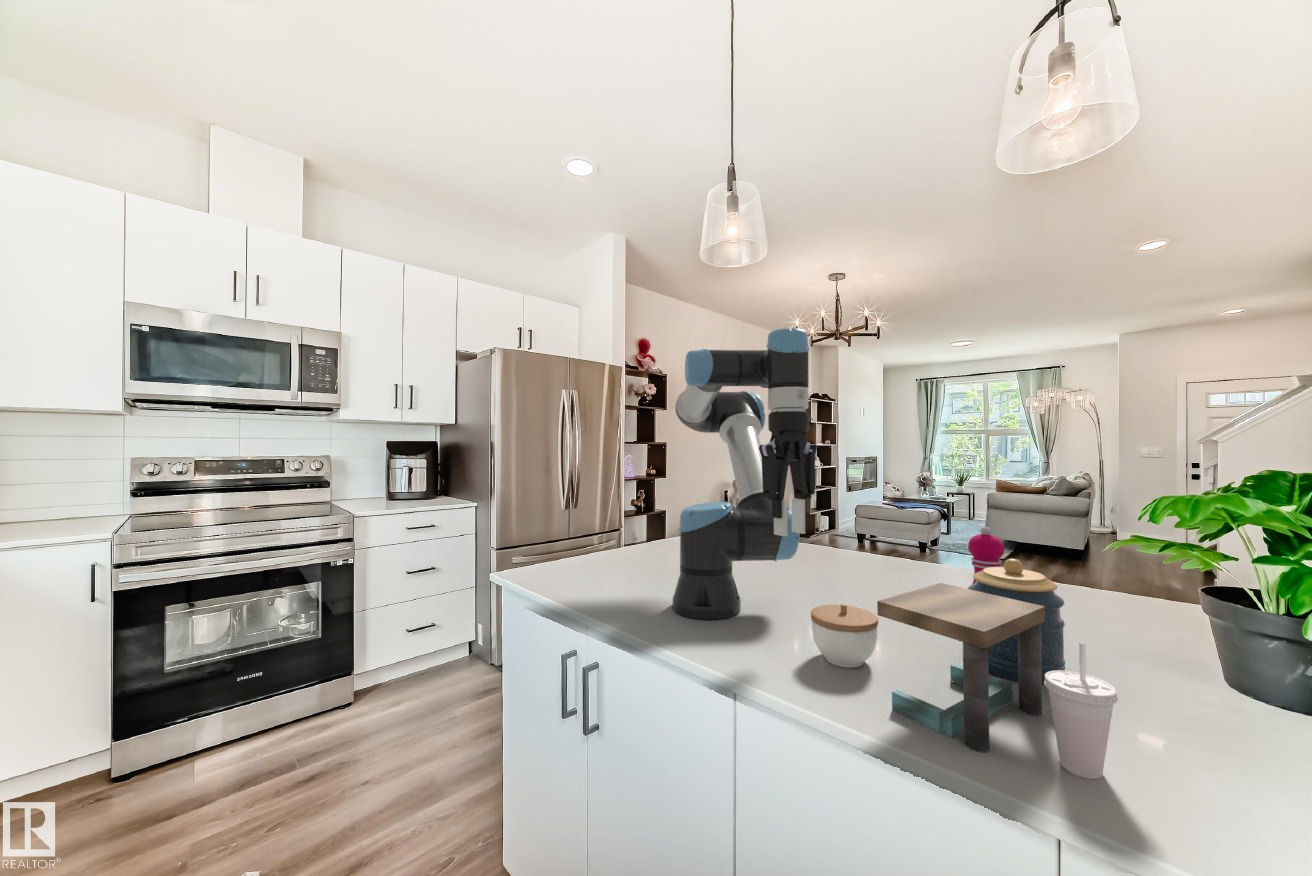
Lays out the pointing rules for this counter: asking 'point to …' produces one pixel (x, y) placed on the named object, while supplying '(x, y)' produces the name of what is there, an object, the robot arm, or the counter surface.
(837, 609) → the lidded jar
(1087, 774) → the smoothie
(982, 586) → the canister
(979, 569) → the pepper mill
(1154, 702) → the counter surface
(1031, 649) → the overhang shelf
